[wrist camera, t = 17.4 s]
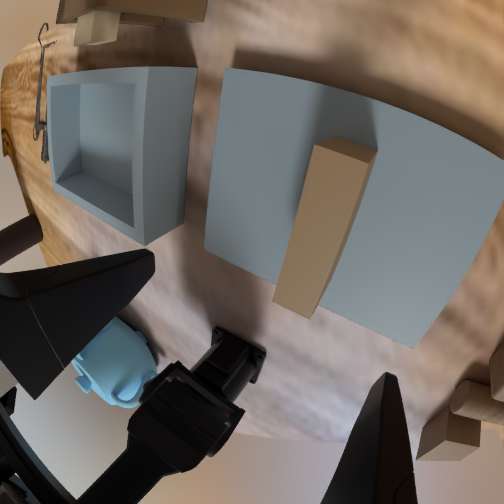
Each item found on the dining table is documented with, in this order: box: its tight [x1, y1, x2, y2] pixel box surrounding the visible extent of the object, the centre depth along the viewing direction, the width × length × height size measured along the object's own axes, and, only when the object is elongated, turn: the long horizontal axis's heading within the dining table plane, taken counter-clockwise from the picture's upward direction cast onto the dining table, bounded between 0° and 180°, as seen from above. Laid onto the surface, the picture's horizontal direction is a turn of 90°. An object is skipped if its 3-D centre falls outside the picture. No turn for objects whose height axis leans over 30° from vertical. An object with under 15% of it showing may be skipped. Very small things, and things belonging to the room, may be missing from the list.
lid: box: [204, 67, 504, 349], centre depth 16 cm, size 14×18×7 cm
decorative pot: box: [71, 316, 158, 408], centre depth 42 cm, size 16×16×14 cm
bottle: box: [0, 214, 43, 265], centre depth 44 cm, size 7×7×20 cm
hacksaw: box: [33, 23, 57, 163], centre depth 30 cm, size 24×10×2 cm, turn 159°
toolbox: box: [47, 0, 208, 246], centre depth 20 cm, size 21×18×10 cm
